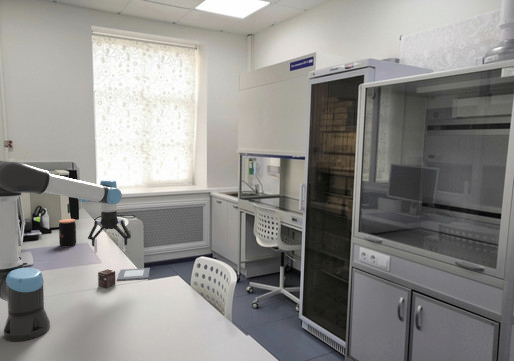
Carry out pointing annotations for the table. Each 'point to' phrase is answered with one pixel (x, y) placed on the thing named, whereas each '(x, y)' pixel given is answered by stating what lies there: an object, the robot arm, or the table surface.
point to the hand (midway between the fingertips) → (110, 252)
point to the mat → (133, 274)
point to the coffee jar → (67, 232)
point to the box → (106, 278)
